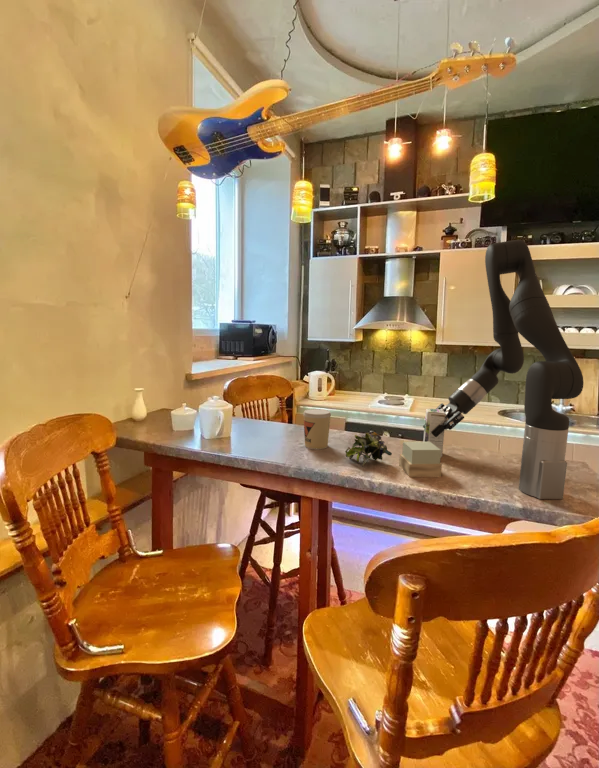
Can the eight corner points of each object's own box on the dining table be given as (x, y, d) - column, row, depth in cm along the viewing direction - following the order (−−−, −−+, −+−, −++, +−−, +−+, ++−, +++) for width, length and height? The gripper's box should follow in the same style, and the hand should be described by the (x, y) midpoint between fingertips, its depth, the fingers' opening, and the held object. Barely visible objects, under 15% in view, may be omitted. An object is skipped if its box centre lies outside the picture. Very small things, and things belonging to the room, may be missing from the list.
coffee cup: (299, 443, 141) (299, 409, 140) (324, 441, 144) (325, 408, 142) (307, 451, 133) (308, 415, 131) (334, 448, 135) (335, 413, 134)
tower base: (440, 478, 112) (441, 464, 112) (408, 478, 112) (409, 464, 111) (428, 466, 121) (429, 453, 121) (399, 466, 121) (399, 453, 120)
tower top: (439, 463, 112) (440, 449, 111) (411, 464, 111) (412, 450, 111) (428, 454, 120) (429, 441, 119) (402, 454, 119) (402, 441, 119)
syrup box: (422, 450, 135) (424, 408, 133) (440, 452, 134) (443, 409, 132) (423, 456, 130) (426, 411, 127) (443, 457, 128) (446, 412, 126)
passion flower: (373, 477, 126) (398, 449, 123) (361, 482, 116) (388, 451, 113) (347, 451, 130) (371, 423, 127) (334, 454, 121) (359, 424, 118)
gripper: (450, 384, 136) (413, 418, 137) (470, 391, 122) (429, 429, 123) (464, 400, 137) (428, 434, 138) (486, 409, 123) (445, 446, 124)
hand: (429, 431), depth 131 cm, fingers closed on syrup box, 6 cm apart
